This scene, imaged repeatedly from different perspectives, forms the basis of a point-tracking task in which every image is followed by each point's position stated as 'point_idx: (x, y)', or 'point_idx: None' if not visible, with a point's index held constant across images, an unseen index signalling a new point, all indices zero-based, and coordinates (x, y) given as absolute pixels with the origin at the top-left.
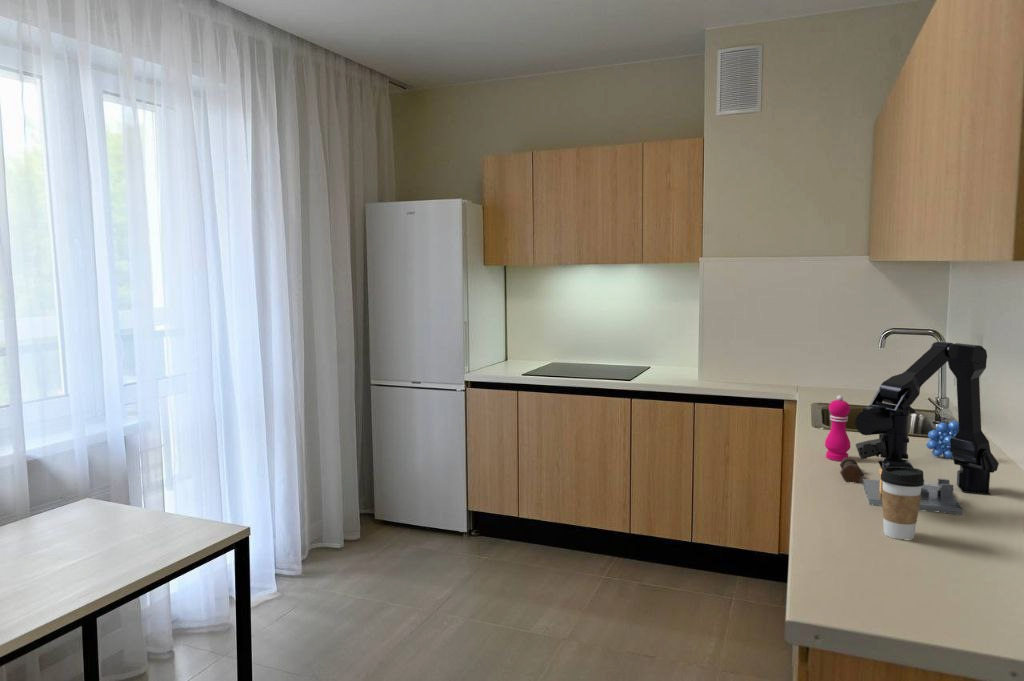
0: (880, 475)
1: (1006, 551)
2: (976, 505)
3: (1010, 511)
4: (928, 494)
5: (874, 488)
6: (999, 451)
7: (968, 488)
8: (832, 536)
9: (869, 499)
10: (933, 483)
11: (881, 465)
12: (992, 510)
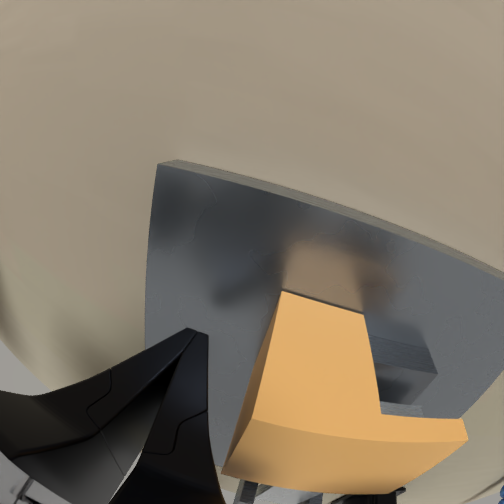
0: (365, 409)
1: (8, 343)
2: None
3: (224, 487)
4: None
5: (415, 302)
6: (491, 494)
7: (358, 499)
8: None
9: (167, 164)
10: (301, 496)
11: (8, 458)
12: (223, 477)
